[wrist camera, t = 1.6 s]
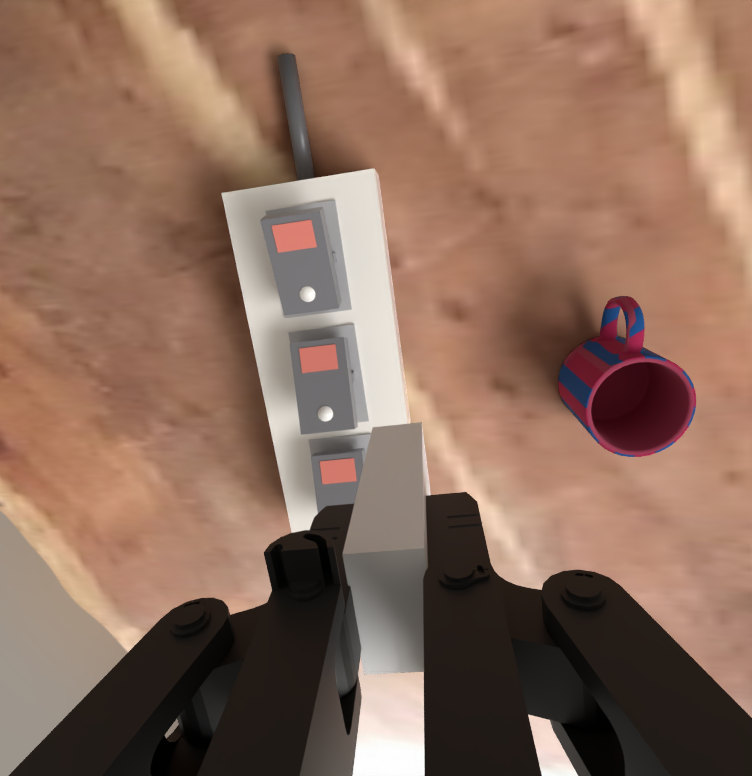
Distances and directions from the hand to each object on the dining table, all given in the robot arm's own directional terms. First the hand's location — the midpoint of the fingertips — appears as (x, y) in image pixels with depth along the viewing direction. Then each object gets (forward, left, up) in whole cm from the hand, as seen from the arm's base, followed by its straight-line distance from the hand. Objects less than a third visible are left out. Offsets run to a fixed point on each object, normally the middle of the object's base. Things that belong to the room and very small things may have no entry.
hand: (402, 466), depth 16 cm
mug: (+4, +14, -25) cm, 29 cm away
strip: (-2, -6, -24) cm, 25 cm away
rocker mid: (+2, -6, -18) cm, 19 cm away
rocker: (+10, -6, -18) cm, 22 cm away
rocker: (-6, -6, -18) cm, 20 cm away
